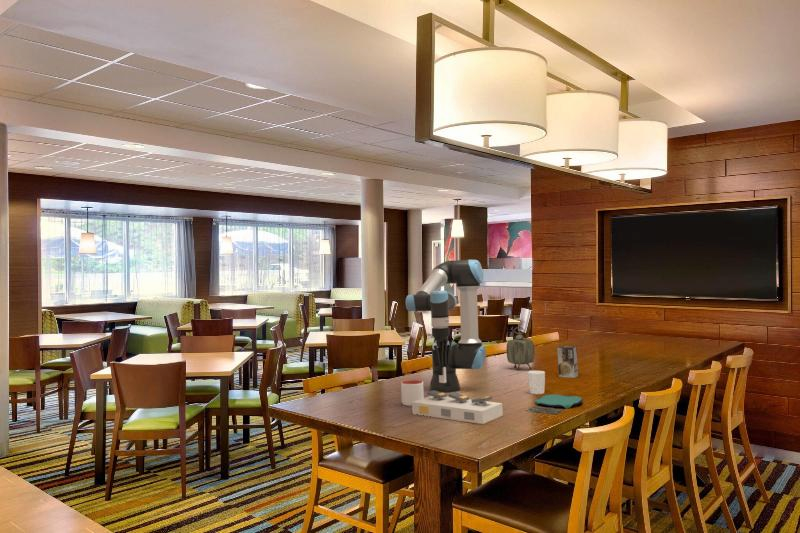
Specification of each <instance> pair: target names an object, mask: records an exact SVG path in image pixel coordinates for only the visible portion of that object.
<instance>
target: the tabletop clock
mask: <svg viewBox="0 0 800 533" xmlns="http://www.w3.org/2000/svg"><path fill="white" fill-rule="evenodd" d="M517 329H522V330H523V332H521V331H518V332H516V330H517ZM513 330H514V333H515V334H516V336H515V338H513V339H509V340H508V341H507V342H506V360H507V361H508V363H510V364H512V365H514V366H513V368H514V369H517V370H518V371H520V370H521V368H520V366H521V365H527V366H528V367H529V371H533V367H532V366H530V364H532V363H534V361H535V356H536V354H535V345H534V341H533V340H532V339H529V338H525V337H524V335H523V334H524V333H525V329H524V327H521V326H517V327H515V328H514V329H513ZM517 365H518V367H517Z"/></svg>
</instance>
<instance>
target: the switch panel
mask: <svg viewBox="0 0 800 533" xmlns="http://www.w3.org/2000/svg"><path fill="white" fill-rule="evenodd" d="M471 400H472V399H470V398H469V400H467V401H464V402H461V401H459V400H456V399H453V398H450V397H449V396H447V397H444V398H441V399H440V398H436V397H433V396H427V397H424V398H423V399H420V400H417V401H414V402H412V406H411V407H412V408H411V409H412V414H413V415H416V414H418V416H423V415H424V416H425V417H430V416H431V417H430V418H438V419H445V420H451V421H458V422H459V421H460V422H466V423H473V424H480V425H484V424H487V423H489V422H490V421H493V420H496V419H498V418H501V417H503V416H504V414H503V413H504V410H503V403H502V402H495V401H485V402H477V403H472V401H471ZM424 416H423V417H424Z"/></svg>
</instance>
